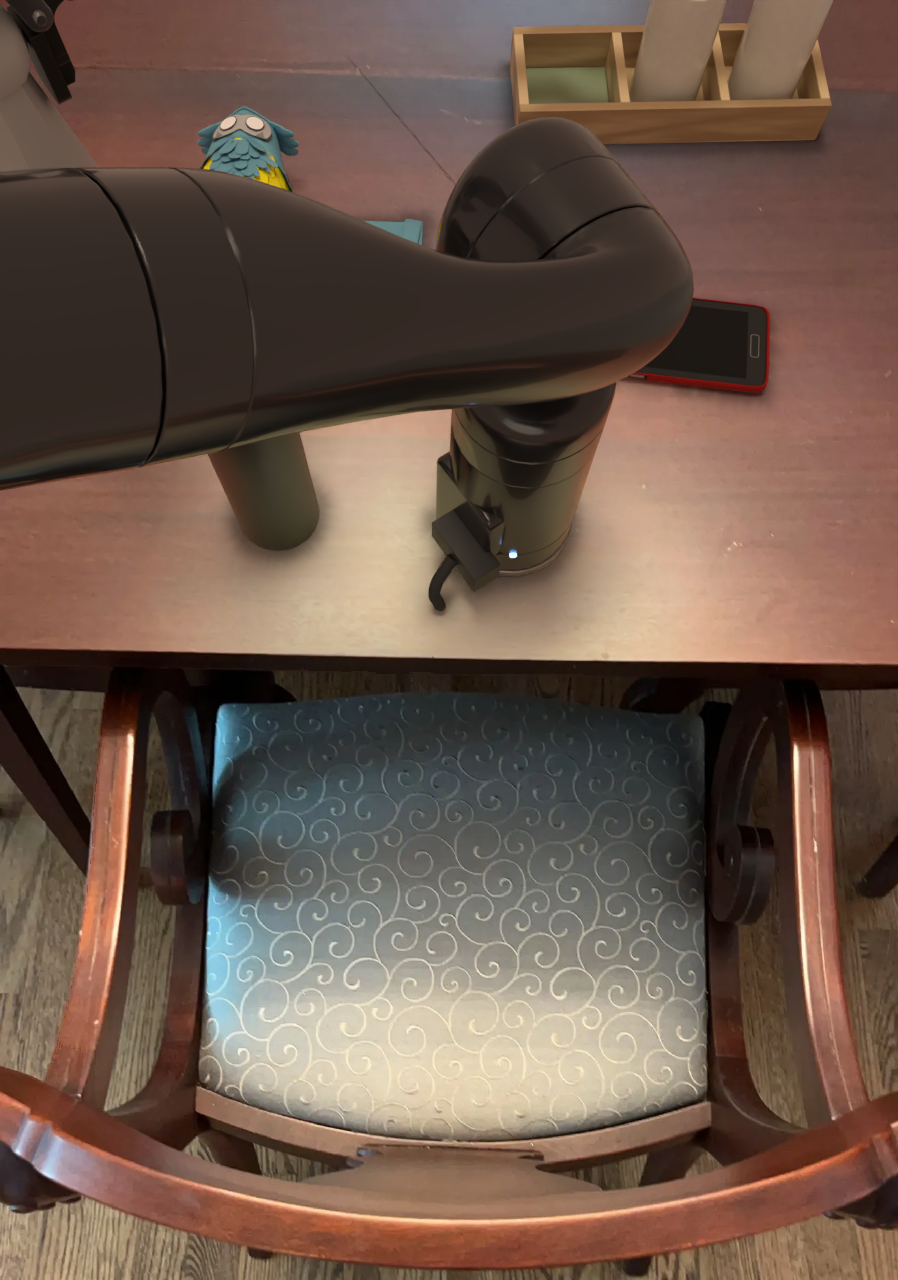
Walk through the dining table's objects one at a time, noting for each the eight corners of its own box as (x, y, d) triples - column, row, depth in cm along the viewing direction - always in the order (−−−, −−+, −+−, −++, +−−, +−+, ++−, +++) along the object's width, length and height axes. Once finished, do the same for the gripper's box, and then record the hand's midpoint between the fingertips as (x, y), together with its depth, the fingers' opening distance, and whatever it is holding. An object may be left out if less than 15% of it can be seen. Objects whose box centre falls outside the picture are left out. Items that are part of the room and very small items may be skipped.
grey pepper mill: (265, 565, 70) (148, 298, 41) (224, 503, 72) (82, 204, 42) (334, 523, 71) (268, 235, 42) (292, 463, 73) (199, 145, 44)
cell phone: (765, 396, 75) (769, 389, 74) (579, 374, 75) (581, 367, 74) (767, 313, 77) (771, 305, 76) (587, 292, 78) (589, 284, 77)
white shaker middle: (655, 136, 82) (695, -7, 70) (614, 93, 84) (646, -55, 71) (707, 107, 83) (755, -39, 71) (666, 65, 85) (706, -86, 72)
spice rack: (813, 144, 83) (832, 105, 79) (515, 150, 82) (520, 111, 78) (796, 63, 86) (814, 21, 82) (509, 68, 85) (512, 26, 81)
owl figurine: (29, 241, 68) (55, 81, 73) (72, 320, 76) (93, 171, 81) (422, 243, 68) (421, 83, 73) (423, 320, 77) (422, 172, 81)
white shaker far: (751, 134, 82) (808, -9, 70) (709, 91, 84) (757, -57, 71) (802, 105, 83) (867, -40, 71) (759, 63, 85) (815, -87, 72)
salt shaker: (14, 206, 53) (-116, -14, 41) (114, 181, 54) (16, -43, 42) (33, 291, 52) (-97, 88, 39) (136, 264, 52) (41, 56, 40)
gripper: (-76, -496, 31) (105, -1, 47) (-514, -332, 28) (-163, 130, 45) (33, -372, 29) (181, 98, 45) (-425, -185, 27) (-94, 240, 43)
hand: (9, 112), depth 45 cm, fingers closed on salt shaker, 4 cm apart
